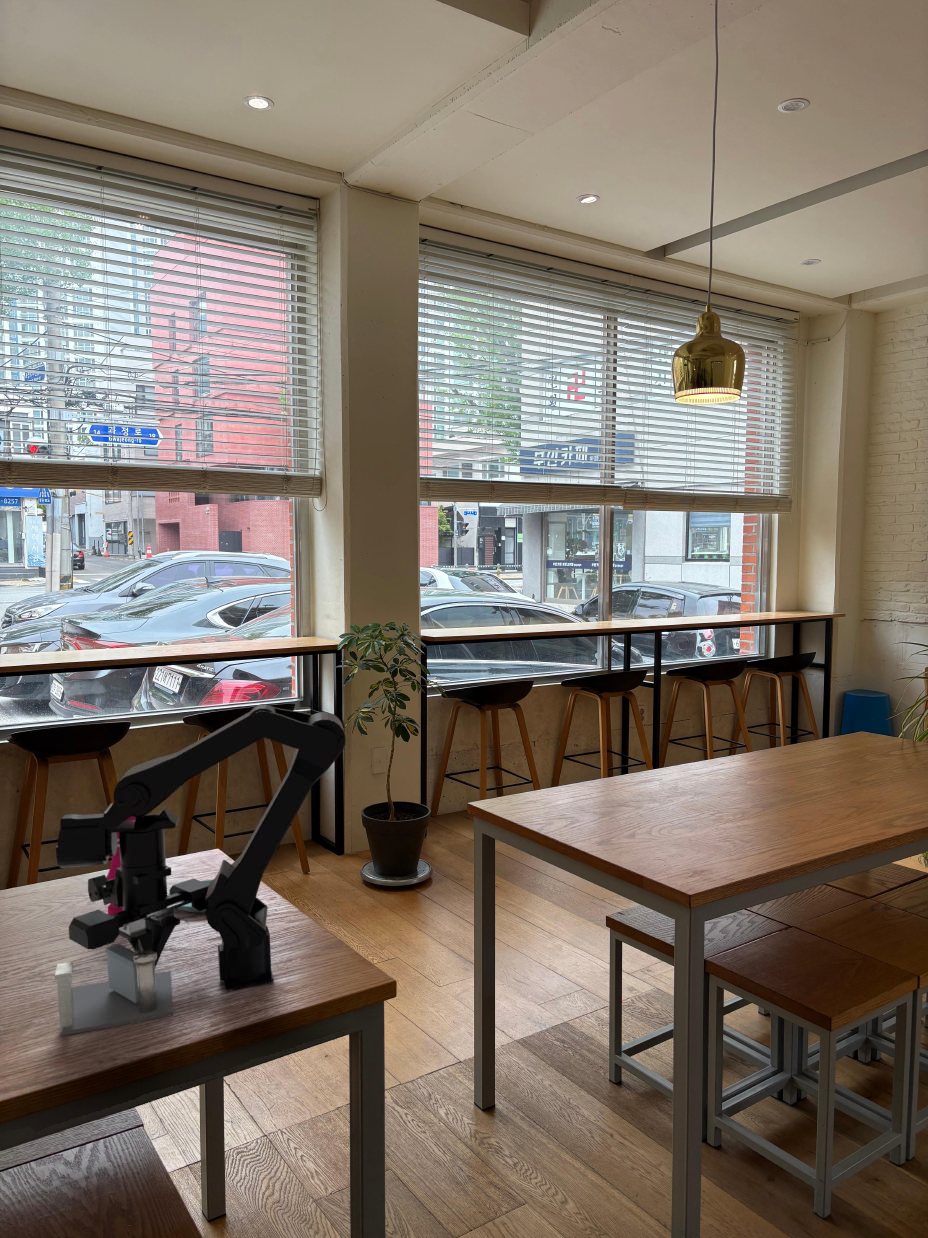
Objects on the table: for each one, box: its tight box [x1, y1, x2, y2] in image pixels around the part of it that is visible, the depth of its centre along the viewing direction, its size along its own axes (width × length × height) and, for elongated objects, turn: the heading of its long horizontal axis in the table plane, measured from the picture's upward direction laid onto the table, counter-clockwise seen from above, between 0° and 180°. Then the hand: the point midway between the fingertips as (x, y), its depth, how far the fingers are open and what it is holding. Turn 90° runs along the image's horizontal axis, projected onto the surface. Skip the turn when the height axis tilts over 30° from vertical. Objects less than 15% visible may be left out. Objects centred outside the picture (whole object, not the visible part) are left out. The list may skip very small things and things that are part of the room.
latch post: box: [54, 961, 74, 1035], centre depth 111 cm, size 2×3×8 cm, turn 20°
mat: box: [61, 970, 174, 1037], centre depth 117 cm, size 13×12×1 cm
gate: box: [105, 943, 138, 1003], centre depth 118 cm, size 7×2×6 cm, turn 50°
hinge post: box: [134, 950, 157, 1013], centre depth 115 cm, size 3×3×8 cm
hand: (148, 973), depth 121 cm, fingers closed
